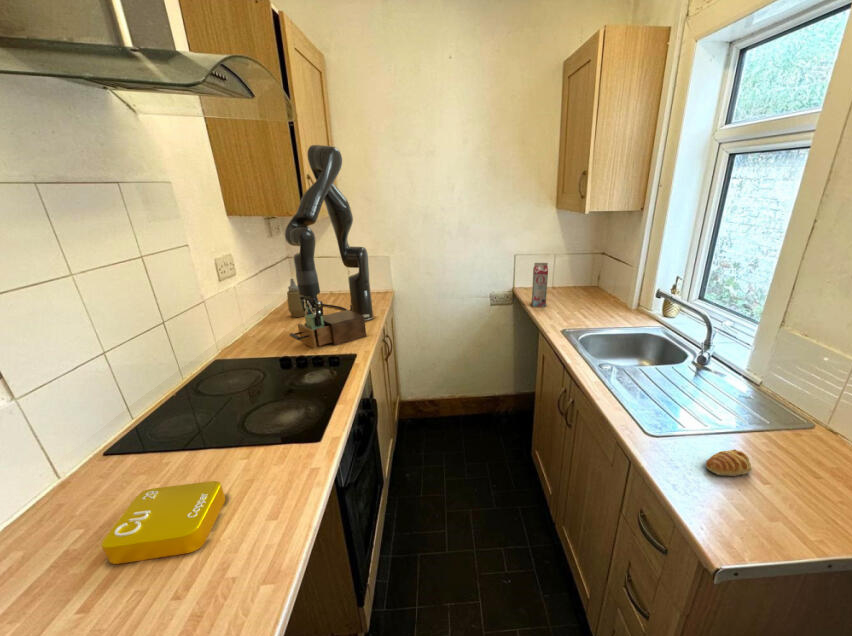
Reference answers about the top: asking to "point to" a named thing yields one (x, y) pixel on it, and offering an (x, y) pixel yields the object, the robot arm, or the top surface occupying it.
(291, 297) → the squeeze bottle
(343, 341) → the cabinet
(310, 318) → the block
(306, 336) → the drawer
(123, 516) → the element tile
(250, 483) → the top surface
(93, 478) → the top surface
